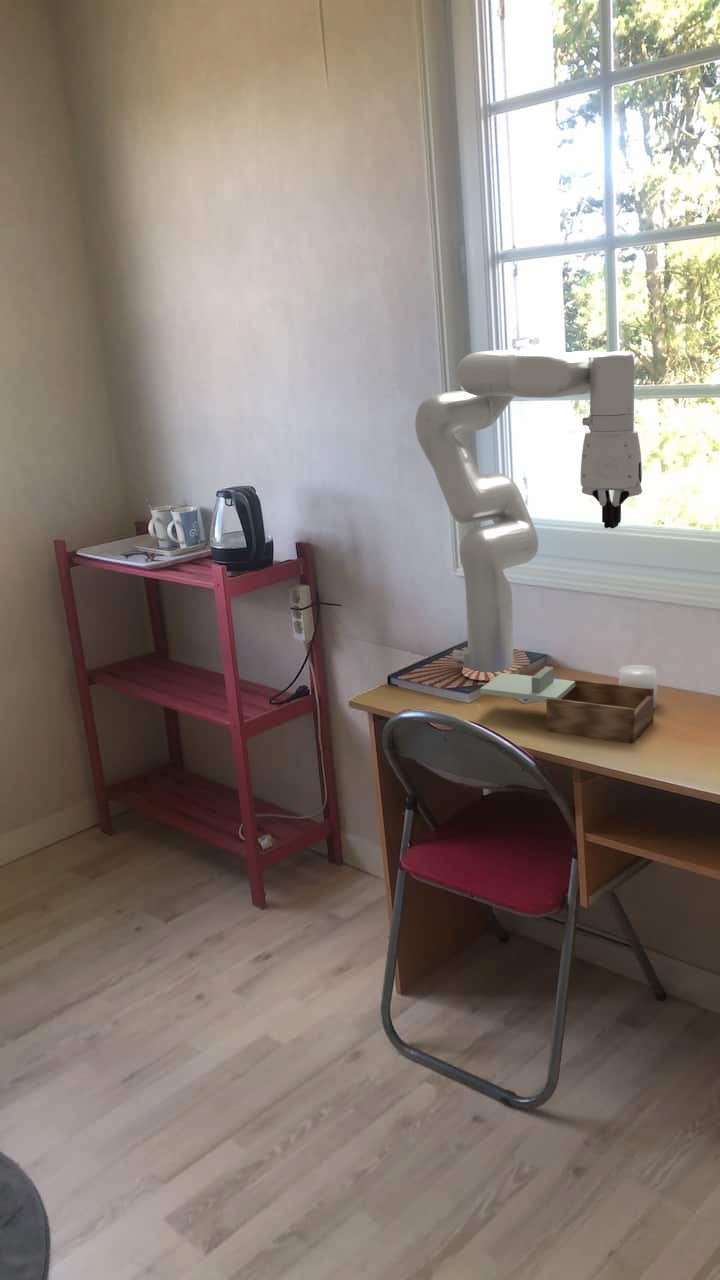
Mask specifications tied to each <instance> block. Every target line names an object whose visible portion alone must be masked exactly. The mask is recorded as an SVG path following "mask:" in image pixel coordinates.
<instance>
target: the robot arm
mask: <svg viewBox="0 0 720 1280" xmlns="http://www.w3.org/2000/svg"><path fill="white" fill-rule="evenodd" d="M455 379H456V381H457V384H458V386H459V387H460V388H461V390H454V391H453V390H452V391H447V392H445V391H444V392H441V393H437V394H433V395H431V396H429V397H427V398H426V399H424V400H423V401H422V402H421V403H420V404H419V406H418V408H417V411H416V414H415V421H414V422H415V423H414V425H415V426H414V427H415V434H416V438H417V441H418V443H419V446H420V447H421V450H422V452H423V453H424V455H425V456H426V457H425V458H427V460H428V462H429V464H430V465H431V468H432V469H433V472H434V473H435V476H436V480H437V482H438V484H439V487H440V489H441V492H442V495H443V497H444V499H445V502H446V505H447V506H448V510H449V512H450V514H451V515H452V517H453V519H454V520H455V521H456V522H457V523H459V524H461V525H470V524H476V523H482V522H486V521H492V522H493V523H492V524H488V525H483V526H479V527H476V528H473V529H471V530H469V531H468V532H467V533H466V534H465V535H464V536H463V537H462V539H461V541H460V543H459V557H460V561H461V563H460V564H461V566H462V571H463V575H464V577H463V578H464V581H465V600H466V601H465V602H466V627H467V630H466V631H467V649H466V650H459V649H454V650H452V655H451V656H452V661H453V662H459V663H460V662H461V663H463V666H464V668H469V669H471V670H474V671H479V672H490V673H491V672H498V671H504V670H506V669H509V668H510V667H512V666H513V664H514V662H515V661H514V629H513V628H514V625H513V624H514V623H513V618H514V617H513V592H512V587H511V585H510V583H509V581H508V578H507V576H506V575H505V573H504V570H505V569H506V570H507V569H508V568H509V569H510V568H513V567H516V566H517V567H518V566H520V565H523V564H526V563H529V562H530V561H532V560H533V559H534V558H535V556H536V555H537V552H538V549H539V539H538V538H539V537H538V534H537V531H536V527H535V525H534V523H533V521H532V518H531V515H530V513H529V510H528V509H527V506H526V503H525V501H524V498H523V496H522V493H521V492H520V489H519V487H518V486H517V484H516V483H515V482H514V480H513V479H512V478H511V477H509V476H508V475H506V474H504V473H499V472H497V473H496V472H494V473H487V474H481V473H480V471H479V469H478V466H477V465H476V462H475V459H474V457H473V455H472V453H471V452H470V450H469V449H468V447H466V445H464V444H463V443H462V442H461V441H460V440H459V439H457V438H456V437H455V434H458V433H459V434H460V433H461V434H462V433H466V432H467V433H468V432H474V431H480V430H484V429H487V428H489V427H490V426H492V425H493V424H494V423H495V422H496V421H497V420H498V419H499V417H500V416H501V415H502V414H503V412H504V411H505V410H506V408H507V406H508V405H510V403H511V402H512V400H513V398H515V397H518V398H531V399H532V398H537V399H538V398H540V399H541V398H544V399H547V398H549V399H550V398H552V399H553V398H562V397H568V396H576V395H587V394H589V415H588V417H583V418H582V421H581V422H582V426H586V427H588V430H589V431H588V432H585V434H584V438H583V444H582V451H581V461H580V478H579V479H580V480H579V481H580V486H581V487H582V488H581V492H582V494H584V495H588V496H592V497H593V498H594V499H595V500H596V501H597V502H598V503H599V505H600V506H601V521H602V523H603V524H604V529H615V528H616V527H618V526H619V524H620V523H621V520H622V504H623V503H624V502H625V501H626V500H628V498H629V497H634V496H639V495H640V494H642V493H643V489H642V485H641V484H642V479H643V465H642V453H641V445H640V438H639V434H638V431H637V430H635V429H634V428H635V426H634V425H635V424H634V423H635V420H634V419H635V414H634V412H635V357H634V356H633V354H632V353H631V352H628V351H607V352H601V351H597V350H581V351H580V350H579V351H568V352H560V353H559V352H557V353H547V354H531V353H530V352H528V351H526V350H524V349H523V350H522V349H521V350H510V349H497V350H495V349H493V350H486V351H485V350H484V351H477V352H473V353H469V354H467V355H466V356H464V357H463V358H462V359H461V360H460V362H459V363H458V365H457V367H456V370H455ZM610 491H613V496H612V500H611V492H610Z"/></svg>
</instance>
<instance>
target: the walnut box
mask: <svg viewBox="0 0 720 1280" xmlns="http://www.w3.org/2000/svg"><path fill="white" fill-rule="evenodd" d="M568 680H570V681H575V687H574V688H573V689H572V690H571V691H569V692H568V693H567V694H566V695H565V696H564V697H563V698H561V699H554V698H547V699H546V731H547V732H553V733H554V732H555V733H560V734H568V735H573V736H581V737H589V738H595V739H603V740H609V741H616V742H623V743H630V744H634V743H635V742H636V741H637V740H638V739H639V737H641V736H642V734H643V733H644V732H645V730H646V729H647V728H648V727H649V726H650V725H651V723H653V721H654V709H653V702H654V688H646V687H637V686H629V685H620V684H619V683H618V684H617V683H612V682H611V683H610V682H600V681H593V680H584V679H575V678H568Z"/></svg>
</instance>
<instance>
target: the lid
mask: <svg viewBox="0 0 720 1280" xmlns="http://www.w3.org/2000/svg"><path fill="white" fill-rule="evenodd" d="M554 672H555V670H554V667H553V666H544V667H543V668H541V670H539V671H538V672H536V673H535V674H534V675H526V674H510V673H500V674H499V675H498V676H496V677H495V678H494V679H492V680H491V681H489V682H487V683H485V684H484V685H483V686H481V687H480V689H479V691H480V692H479V693H480V694H482V695H489V696H490V695H491V696H498V697H506V698H513V699H515V698H520V699H528V700H536V701H535V702H544V703H545V702H546V699H547V698H554V699H561V698H563V697H564V696H565V695H566V694H567V693H568V692H569V691H571V690H572V689H573V688H574V687H575V681H570V680H569V679H561V678H559V679H554V678H555V677H554V676H555V673H554Z"/></svg>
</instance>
